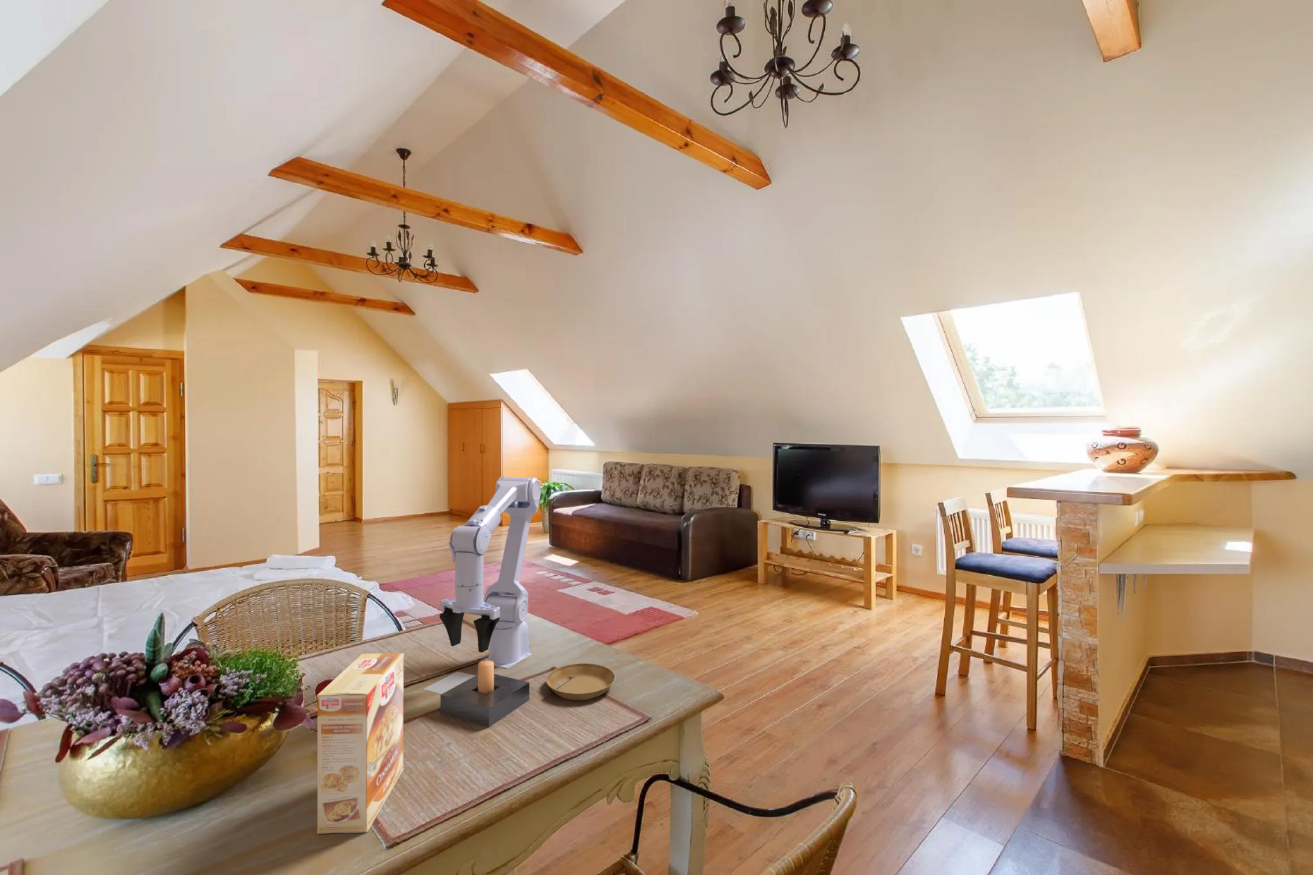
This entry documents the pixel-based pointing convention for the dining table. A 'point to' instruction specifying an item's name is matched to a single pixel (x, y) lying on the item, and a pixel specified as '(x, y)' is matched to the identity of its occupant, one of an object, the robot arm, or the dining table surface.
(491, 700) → the socket block
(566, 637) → the dining table surface
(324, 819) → the coffeecake box
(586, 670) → the plant saucer
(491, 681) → the peg
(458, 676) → the mat
